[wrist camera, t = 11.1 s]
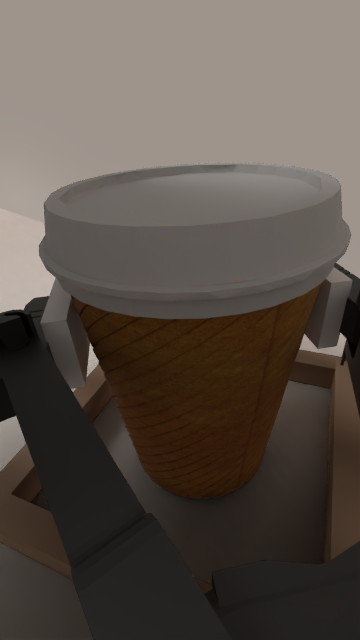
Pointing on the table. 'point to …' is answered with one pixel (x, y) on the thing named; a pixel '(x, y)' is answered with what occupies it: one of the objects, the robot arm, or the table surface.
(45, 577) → the table surface
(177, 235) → the disposable coffee cup
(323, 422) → the table surface
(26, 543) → the cup holder frame
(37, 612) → the table surface
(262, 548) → the table surface
